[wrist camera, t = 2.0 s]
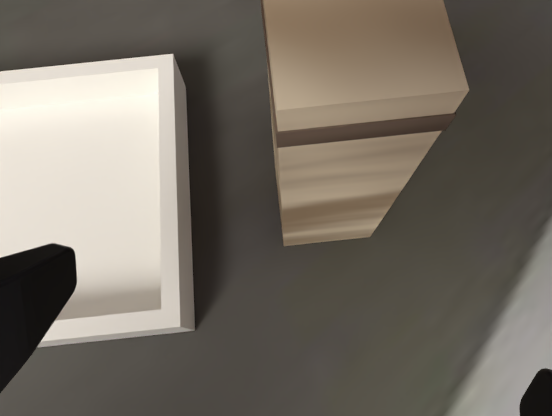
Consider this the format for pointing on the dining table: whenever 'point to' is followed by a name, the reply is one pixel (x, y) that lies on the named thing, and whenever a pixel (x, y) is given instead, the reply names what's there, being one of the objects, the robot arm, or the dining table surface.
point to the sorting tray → (102, 190)
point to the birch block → (354, 106)
